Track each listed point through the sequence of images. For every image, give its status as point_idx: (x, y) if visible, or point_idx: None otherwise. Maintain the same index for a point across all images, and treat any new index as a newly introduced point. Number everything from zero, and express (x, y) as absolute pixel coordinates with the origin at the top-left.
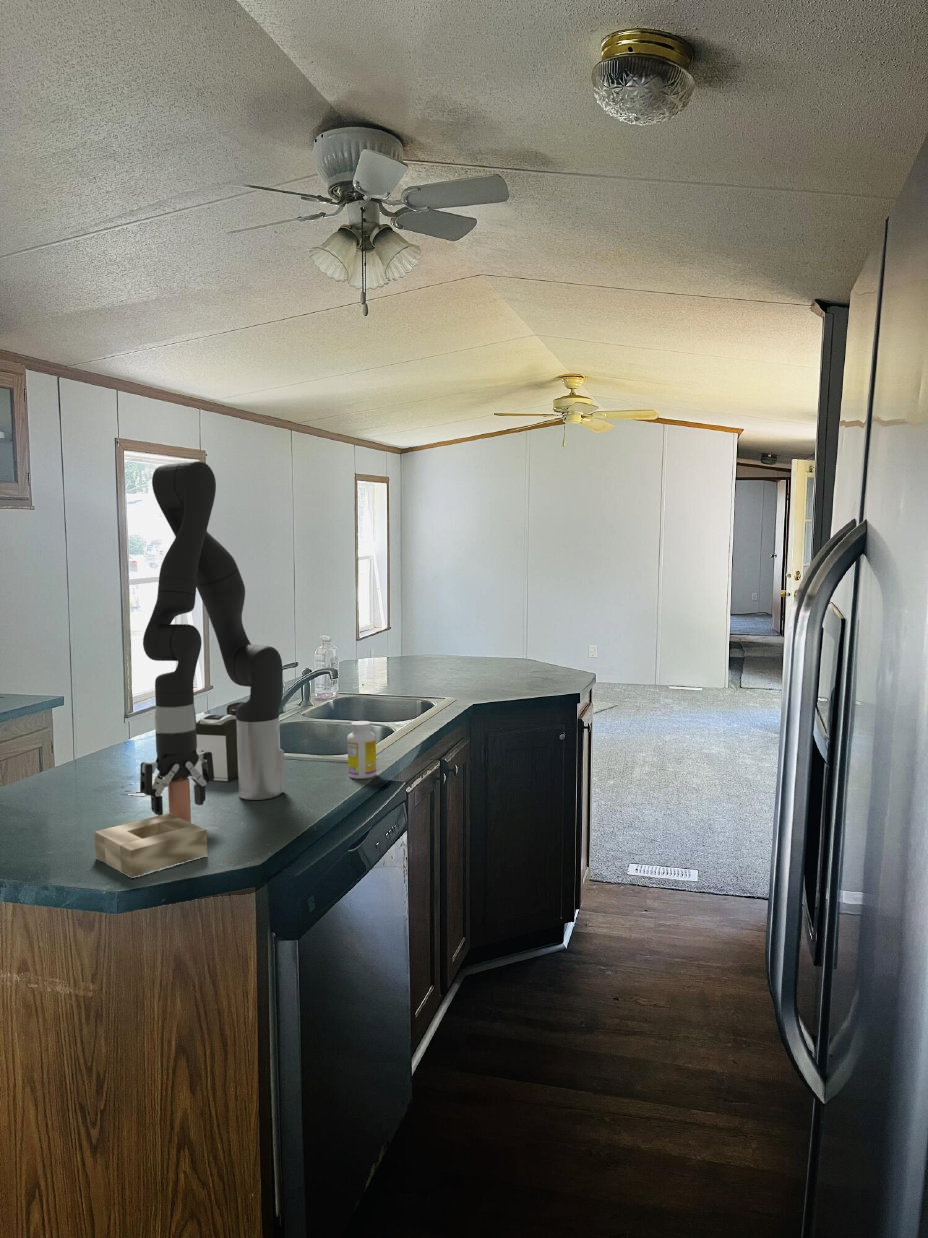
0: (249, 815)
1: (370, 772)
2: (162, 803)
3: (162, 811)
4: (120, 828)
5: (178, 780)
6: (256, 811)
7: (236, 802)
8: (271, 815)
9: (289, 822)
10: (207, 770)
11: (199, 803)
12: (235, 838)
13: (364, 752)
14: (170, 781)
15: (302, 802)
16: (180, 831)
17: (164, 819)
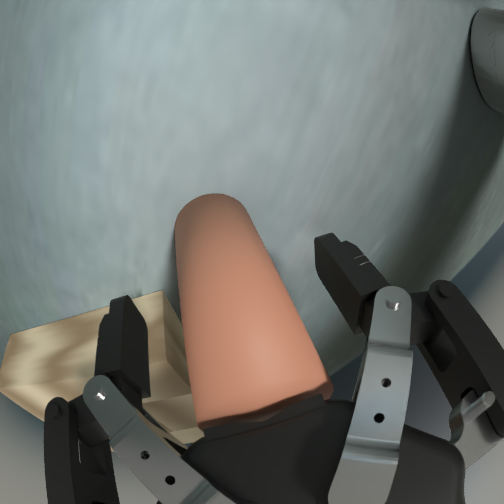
0: (421, 194)
1: None
2: (148, 367)
3: (146, 337)
4: (45, 399)
5: (264, 416)
6: (444, 173)
7: (453, 59)
8: (439, 223)
9: (424, 279)
10: (438, 373)
11: (319, 274)
12: (308, 330)
13: None
14: (214, 423)
15: (499, 178)
16: (184, 434)
17: (152, 393)
